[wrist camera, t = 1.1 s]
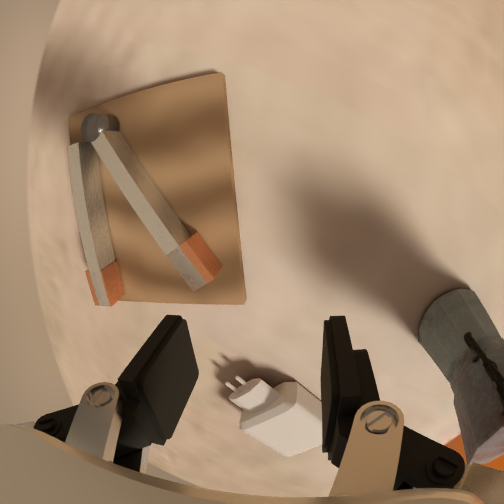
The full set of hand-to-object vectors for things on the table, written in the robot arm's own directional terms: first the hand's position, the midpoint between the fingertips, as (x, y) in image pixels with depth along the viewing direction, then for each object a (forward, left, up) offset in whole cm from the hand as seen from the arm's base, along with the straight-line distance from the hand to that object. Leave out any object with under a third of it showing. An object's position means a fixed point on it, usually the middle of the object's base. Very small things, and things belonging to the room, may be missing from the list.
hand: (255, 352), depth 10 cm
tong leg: (-5, -12, -16) cm, 20 cm away
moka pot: (+11, +19, -18) cm, 28 cm away
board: (-4, -13, -17) cm, 22 cm away
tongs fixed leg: (-2, -19, -16) cm, 25 cm away
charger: (+22, -2, -18) cm, 29 cm away
